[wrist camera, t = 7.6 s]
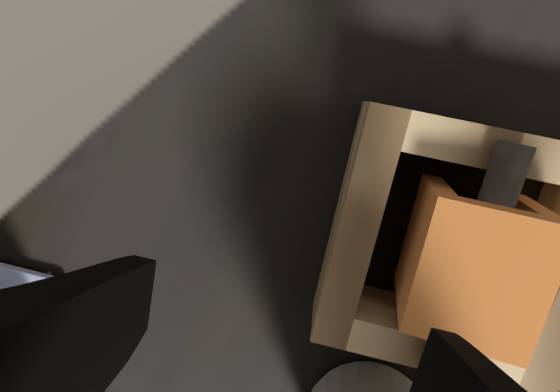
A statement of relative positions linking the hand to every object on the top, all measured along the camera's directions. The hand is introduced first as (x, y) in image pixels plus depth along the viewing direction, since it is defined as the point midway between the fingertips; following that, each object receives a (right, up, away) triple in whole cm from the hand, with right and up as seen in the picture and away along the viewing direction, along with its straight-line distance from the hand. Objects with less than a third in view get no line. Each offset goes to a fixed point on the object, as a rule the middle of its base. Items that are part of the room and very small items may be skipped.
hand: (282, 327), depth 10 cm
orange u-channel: (+8, +2, +8) cm, 11 cm away
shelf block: (+7, +2, +8) cm, 11 cm away
